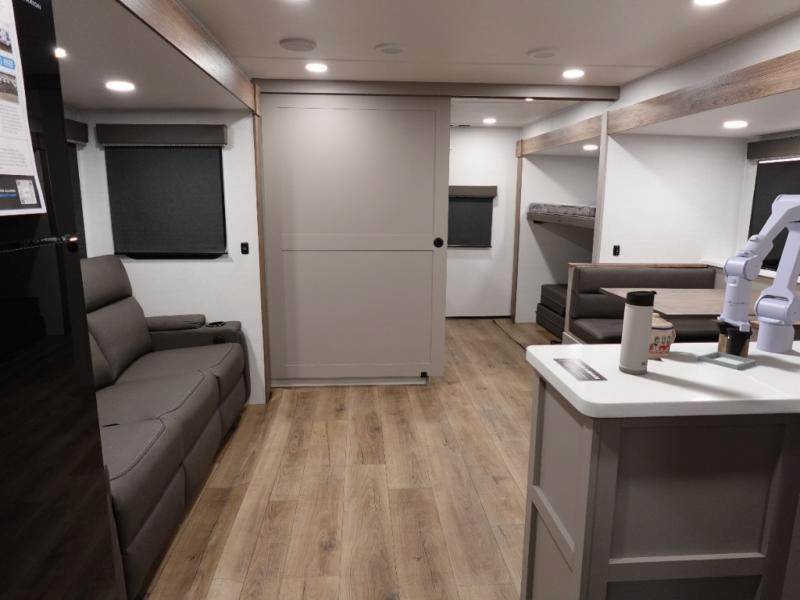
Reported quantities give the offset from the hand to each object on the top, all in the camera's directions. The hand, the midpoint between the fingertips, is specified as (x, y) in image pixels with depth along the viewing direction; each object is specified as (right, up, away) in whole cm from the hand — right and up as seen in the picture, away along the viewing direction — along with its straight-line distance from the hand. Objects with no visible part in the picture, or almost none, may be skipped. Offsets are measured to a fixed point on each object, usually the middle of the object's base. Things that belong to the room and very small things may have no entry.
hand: (730, 351), depth 145 cm
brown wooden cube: (+1, -1, 0) cm, 1 cm away
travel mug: (-32, -4, -13) cm, 35 cm away
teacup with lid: (-19, -1, +2) cm, 19 cm away
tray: (-5, -3, -6) cm, 9 cm away
